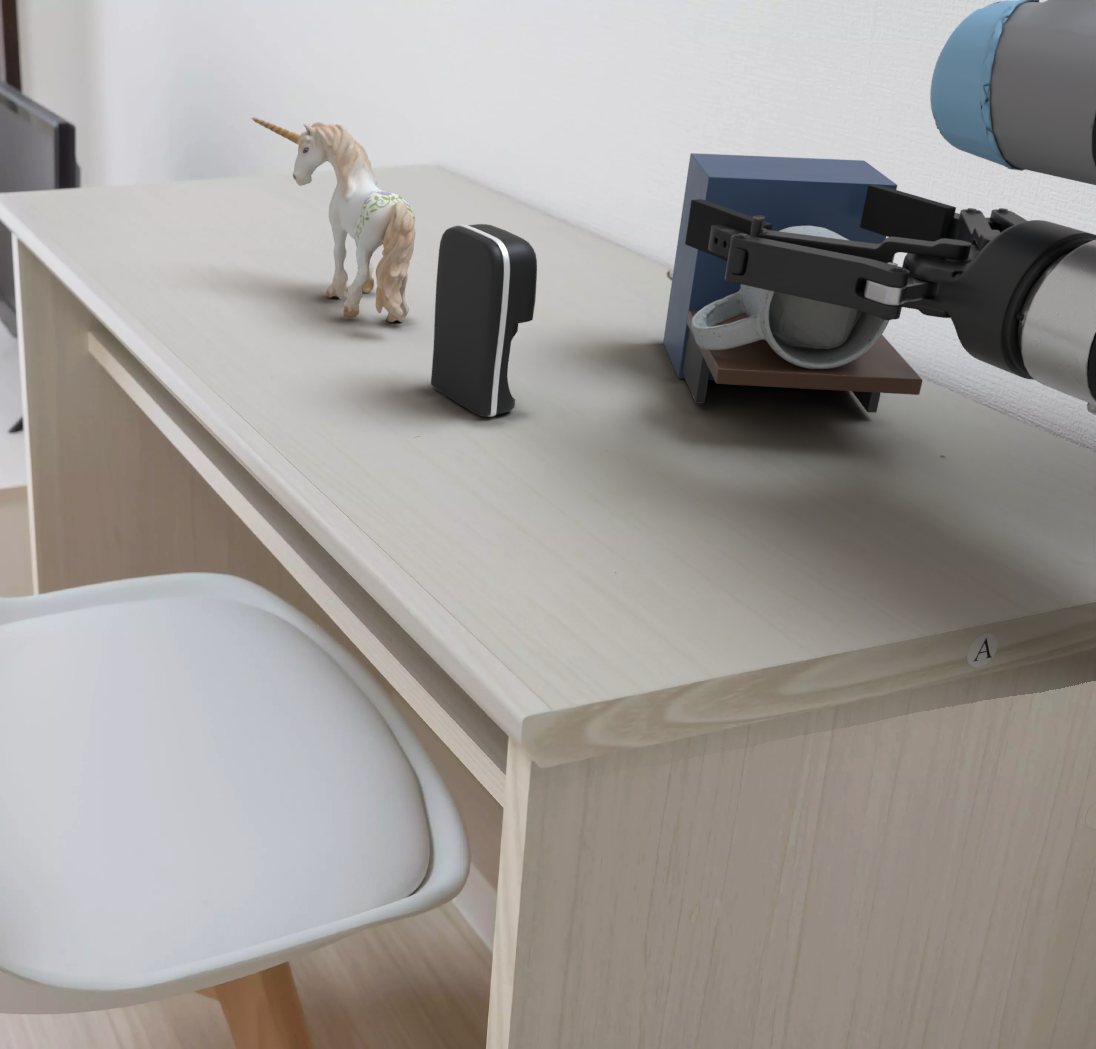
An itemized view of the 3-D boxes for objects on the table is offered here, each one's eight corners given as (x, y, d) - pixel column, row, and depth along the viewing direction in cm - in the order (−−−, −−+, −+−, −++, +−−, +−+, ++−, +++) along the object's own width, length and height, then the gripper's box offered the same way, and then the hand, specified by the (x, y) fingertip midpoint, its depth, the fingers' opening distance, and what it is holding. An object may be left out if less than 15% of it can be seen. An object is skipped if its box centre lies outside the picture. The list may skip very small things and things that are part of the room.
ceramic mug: (837, 329, 88) (859, 212, 85) (882, 371, 81) (908, 245, 78) (675, 327, 88) (690, 210, 85) (705, 369, 81) (723, 244, 78)
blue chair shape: (826, 351, 100) (864, 160, 94) (905, 456, 82) (959, 229, 76) (662, 342, 101) (690, 153, 95) (705, 444, 83) (743, 220, 77)
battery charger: (532, 414, 87) (550, 239, 82) (482, 422, 86) (498, 245, 81) (474, 379, 93) (487, 214, 88) (426, 387, 91) (437, 219, 86)
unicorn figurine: (320, 268, 117) (324, 110, 111) (464, 328, 103) (478, 151, 97) (250, 279, 114) (251, 116, 108) (390, 343, 99) (399, 160, 93)
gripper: (856, 413, 64) (606, 290, 81) (1220, 356, 72) (923, 256, 90) (890, 257, 60) (621, 164, 78) (1267, 217, 69) (949, 141, 87)
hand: (782, 213), depth 84 cm, fingers open, 13 cm apart
